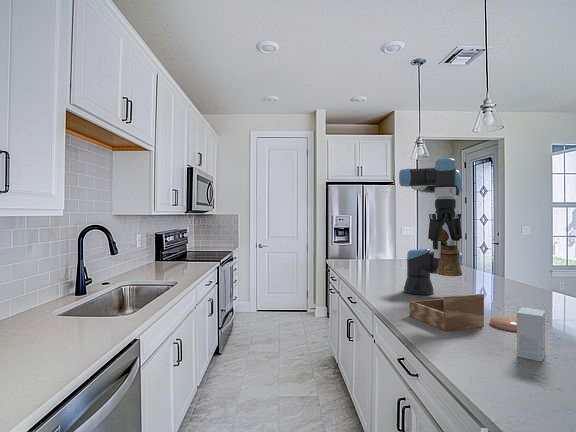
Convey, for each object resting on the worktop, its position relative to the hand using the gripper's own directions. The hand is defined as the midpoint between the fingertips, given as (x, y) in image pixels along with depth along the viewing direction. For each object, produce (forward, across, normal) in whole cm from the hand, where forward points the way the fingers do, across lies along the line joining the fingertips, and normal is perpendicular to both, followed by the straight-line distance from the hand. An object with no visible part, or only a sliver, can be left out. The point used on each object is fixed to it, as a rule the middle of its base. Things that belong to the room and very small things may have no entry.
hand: (445, 257), depth 142 cm
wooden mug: (+7, +1, 0) cm, 7 cm away
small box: (+25, -1, -36) cm, 44 cm away
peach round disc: (+25, +19, -13) cm, 34 cm away
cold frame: (+25, 0, 0) cm, 25 cm away
